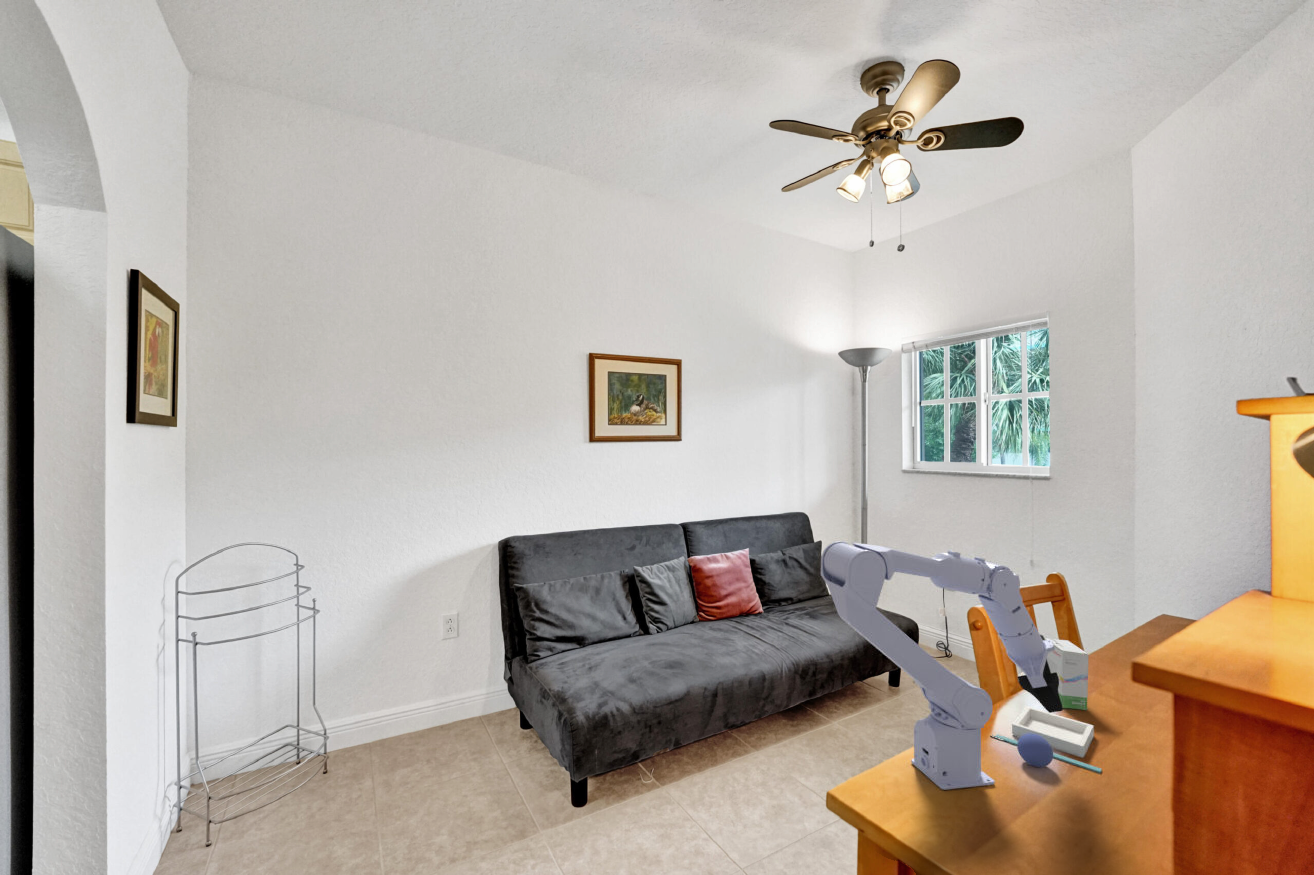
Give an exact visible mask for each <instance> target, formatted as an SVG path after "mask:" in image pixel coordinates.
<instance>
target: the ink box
mask: <svg viewBox="0 0 1314 875" xmlns="http://www.w3.org/2000/svg"><path fill="white" fill-rule="evenodd" d="M1046 640H1051V641H1052V642H1053V644H1054V647H1055V650H1054V651H1050V652H1048V655H1047V662H1048V665H1049V668H1050V671H1051V673H1055V672H1057V675H1058V678H1059V686H1058V693H1059V697H1060V700H1061V703H1062V707H1063V709H1072V710H1082V711H1088V691H1089V690H1088V688H1089V653H1087V652H1086V651H1084V650H1083V649H1081V648H1080V647H1078V646H1077V645H1076V644H1074V643H1072V642H1071V641H1070V640H1066V639H1058V638H1056V639H1055V638H1048V637H1047V638H1045V641H1046Z"/></svg>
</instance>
